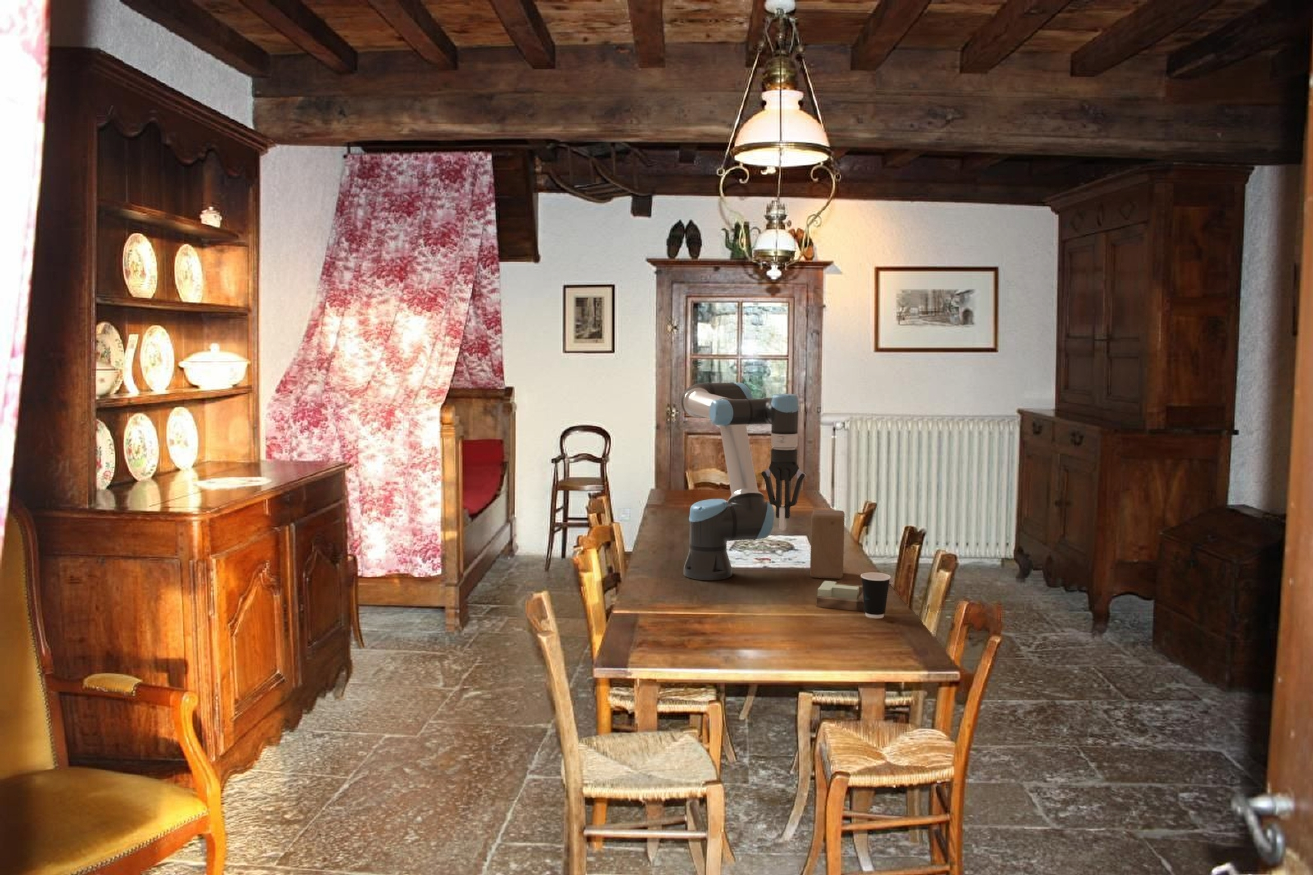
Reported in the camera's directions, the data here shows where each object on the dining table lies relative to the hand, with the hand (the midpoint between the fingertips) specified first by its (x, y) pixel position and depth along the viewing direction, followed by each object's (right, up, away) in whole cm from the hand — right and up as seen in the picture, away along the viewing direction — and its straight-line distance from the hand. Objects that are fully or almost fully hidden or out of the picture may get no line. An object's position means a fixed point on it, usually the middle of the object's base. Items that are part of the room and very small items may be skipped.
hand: (782, 529), depth 288 cm
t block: (+16, -20, -4) cm, 26 cm away
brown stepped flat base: (+18, -20, -5) cm, 27 cm away
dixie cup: (+22, -22, -20) cm, 37 cm away
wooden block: (+17, -17, +25) cm, 35 cm away
